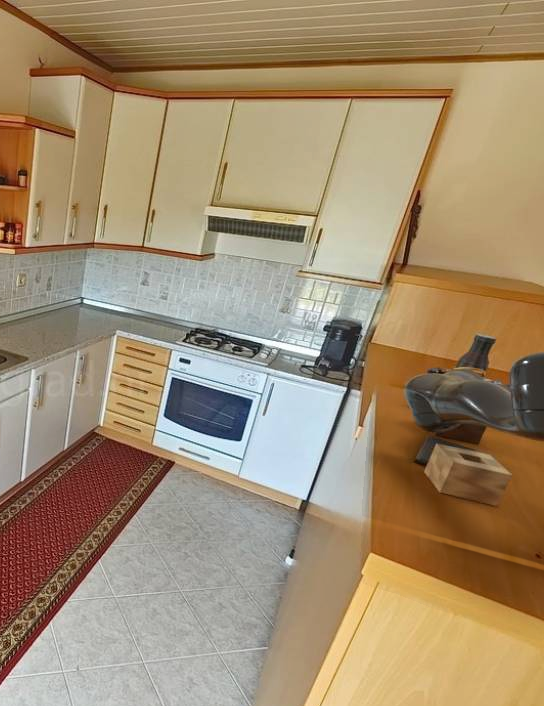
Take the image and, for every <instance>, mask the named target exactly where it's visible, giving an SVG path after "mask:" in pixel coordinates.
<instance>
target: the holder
mask: <svg viewBox="0 0 544 706" xmlns="http://www.w3.org/2000/svg"><path fill="white" fill-rule="evenodd" d="M486 429H487V427H486V426H482V425H473V424H460V425H459V426H457V427H456V428H454V429H452V430H449V431H445V432H439V433H434V432H432V434H434V436H437V437H441V438H446V439H451V440H455V441H459V442H464V443H465V442H466V443H470V444H473V445H474V444H475V445H480V443H481V441H482V439H483V436H484V434H485V431H486Z"/></svg>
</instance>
